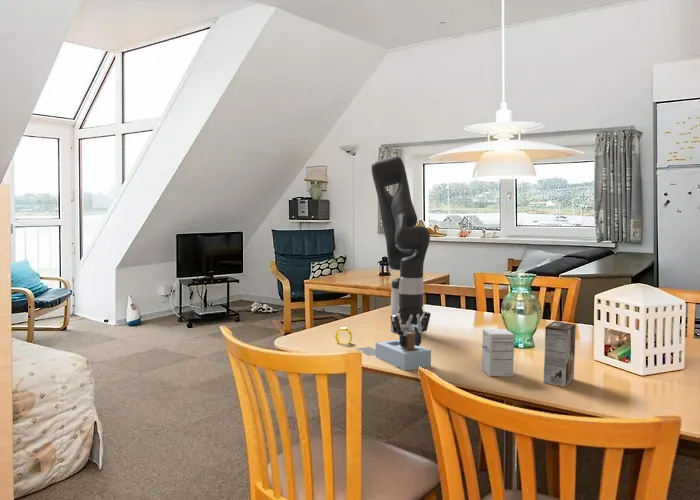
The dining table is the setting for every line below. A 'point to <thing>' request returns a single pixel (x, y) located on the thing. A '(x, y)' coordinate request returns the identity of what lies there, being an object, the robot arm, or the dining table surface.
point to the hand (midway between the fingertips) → (410, 346)
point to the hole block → (403, 355)
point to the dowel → (410, 341)
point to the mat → (368, 350)
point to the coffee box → (559, 353)
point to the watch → (343, 330)
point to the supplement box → (498, 352)
